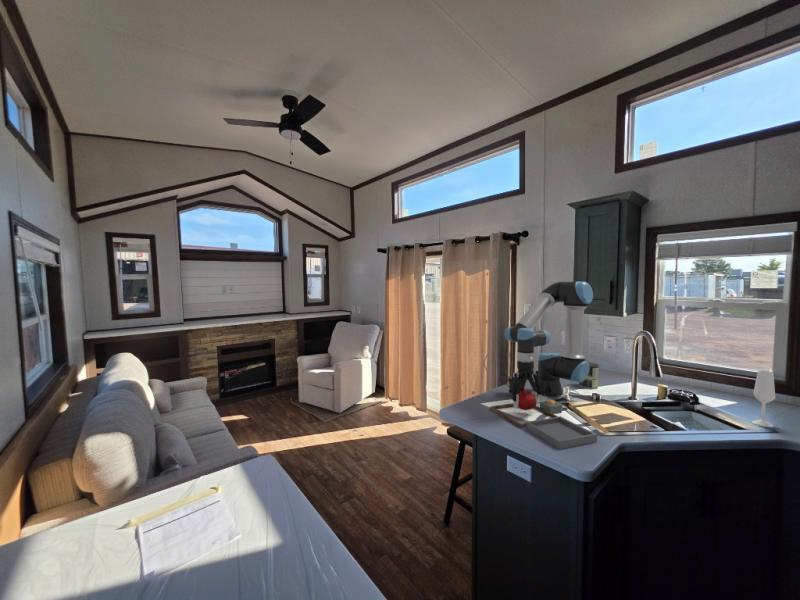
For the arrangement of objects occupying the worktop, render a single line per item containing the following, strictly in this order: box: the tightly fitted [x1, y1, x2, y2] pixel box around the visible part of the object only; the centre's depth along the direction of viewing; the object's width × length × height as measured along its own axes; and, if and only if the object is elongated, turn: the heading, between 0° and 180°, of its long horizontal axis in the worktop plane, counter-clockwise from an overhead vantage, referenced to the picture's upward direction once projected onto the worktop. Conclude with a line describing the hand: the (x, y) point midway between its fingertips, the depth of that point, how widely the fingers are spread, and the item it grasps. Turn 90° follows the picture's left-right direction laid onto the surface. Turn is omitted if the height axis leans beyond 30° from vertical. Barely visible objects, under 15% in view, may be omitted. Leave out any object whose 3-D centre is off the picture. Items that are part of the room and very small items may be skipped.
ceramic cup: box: [504, 375, 527, 396], centre depth 186 cm, size 13×10×10 cm
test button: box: [546, 398, 556, 405], centre depth 164 cm, size 4×4×4 cm
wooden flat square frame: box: [489, 402, 559, 429], centre depth 159 cm, size 23×23×2 cm
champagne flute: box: [751, 369, 776, 428], centre depth 149 cm, size 7×7×24 cm
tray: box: [525, 416, 598, 450], centre depth 138 cm, size 19×19×3 cm
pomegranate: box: [517, 388, 538, 411], centre depth 158 cm, size 10×10×9 cm
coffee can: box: [578, 361, 600, 390], centre depth 203 cm, size 10×10×14 cm
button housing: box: [539, 400, 563, 415], centre depth 164 cm, size 7×7×4 cm
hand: (525, 406), depth 159 cm, fingers closed on pomegranate, 10 cm apart
